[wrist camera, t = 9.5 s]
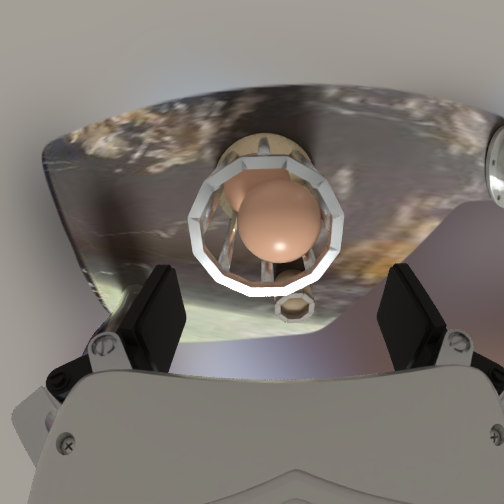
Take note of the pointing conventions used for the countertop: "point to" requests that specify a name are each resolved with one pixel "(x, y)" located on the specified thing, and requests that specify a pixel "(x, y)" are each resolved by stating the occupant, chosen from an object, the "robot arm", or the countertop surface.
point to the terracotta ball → (279, 221)
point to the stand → (294, 301)
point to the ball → (250, 183)
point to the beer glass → (117, 312)
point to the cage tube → (230, 164)
